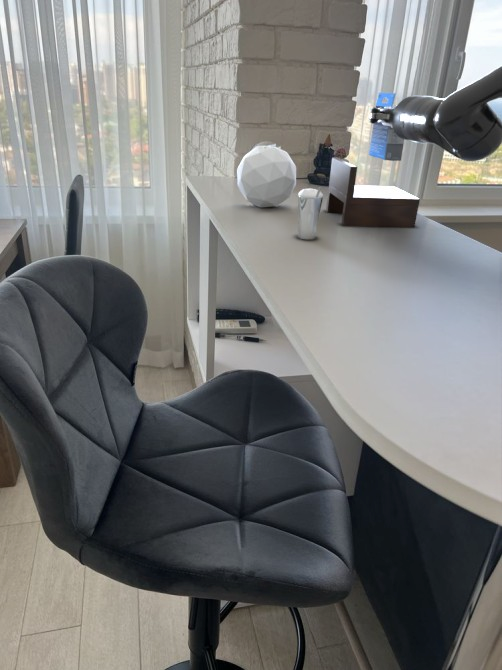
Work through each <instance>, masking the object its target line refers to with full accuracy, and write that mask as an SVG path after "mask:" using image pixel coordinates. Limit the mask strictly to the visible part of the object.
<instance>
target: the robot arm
mask: <svg viewBox="0 0 502 670" xmlns="http://www.w3.org/2000/svg"><path fill="white" fill-rule="evenodd" d="M497 99H502V65H500V66H499V67H497V68H495V69H494V70H492V71H490V72H489V73H487V74H485V75H484V76H482V77H480V78H478V79H477V80H474V81H472V82H471V83H469V84H467V85H465V86H463V87H461V88H460V89H457V90H456V91H454V92H453V93H451V94H449V95H448V96H447V97H445V98H439V97H436V96H431V95H410V96H407V97H405V98H403V99H402V100H400V101H399V102H398V104H397V105H393V107H392V106H385V108H384V109H383V108H378V109H377V108H376V106H375V107H371V108H370V112H369V113H370V114H369V119H368V122H369V123H371V124H372V125H373V124H374V123H381V122H382V124H383V125H386V126H391V128H393V130H394V132H395V133H396V134H397V135H398V136H399V137H400V138H402V139H404V141H410V142H414V143H417V144H430V145H434V146H438V147H439V148H441V149H442V150H443V151H445V152H447V153H449V154H450V155H452V156H454V157H455V158H457V159H459V160H462V161H465V162H478V161H481V160H484V159H486V158H488V157H490V156H491V155H493V154H494V153H495V152H496V151H497V150H498V149H499V148H500V147H501V145H502V119H501V118H500V117H499V115H497V113H496V112H495V111H494V110H493V108H492V107H491V106H490V105H489V104H488V103H489V102H492V101H495V100H497Z"/></svg>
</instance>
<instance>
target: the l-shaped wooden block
mask: <svg viewBox="0 0 502 670" xmlns="http://www.w3.org/2000/svg"><path fill="white" fill-rule="evenodd" d="M357 172H358V166H356V165H354V164H352V163H350V162H348V161H346V160H344V159H342V158H340V157H332V158H331V164H330V173H329V181H328V190H327V198H326V199H327V200H326V206H325V212H327V213H342V216H341V223H340V224H341V226H342V227H383V228H384V227H387V228H388V227H389V228H390V227H391V228H415V226H416V221H417V217H418V211H419V206H420V201H421V198H418V197H416V196H415V195H412V194H410V193H408V192H406V191H405V190H402V189H400V188H398V187H396V186H384V185H383V186H382V185H356V181H357V180H356V179H357Z"/></svg>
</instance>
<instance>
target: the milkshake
mask: <svg viewBox="0 0 502 670" xmlns="http://www.w3.org/2000/svg"><path fill="white" fill-rule="evenodd" d="M321 190H322V187H321V186H320V187H319V186H318V189H315V188H312V187H311V188H310V187H309V188H302V189H301V190H300V191H298V194H297V195H298V227H297V238H299V239H301V240H306V241H307V240H309V241H311V240H315V238H316V236H317V235H316V234H317V229H318V223H319V217H320V213H321V208H322V204H323V199H324V194H323V192H321Z"/></svg>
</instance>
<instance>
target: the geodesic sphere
mask: <svg viewBox="0 0 502 670" xmlns="http://www.w3.org/2000/svg"><path fill="white" fill-rule="evenodd" d="M276 145H277V144H276V143H274V144H273V143H272V144H269V145H257V146H255V147H254V148H252V149H251V150H250V151H249V152H247V153H246V154H245V155H244V156H243V157H242V159H241V161H240V163H239V165H238V167H237V169H236V178H237V181H236V182H237V188H238V190H239V191H240V192H241V194H242V196H243V197H244V198H245V200H246V202H249V203H251V204H252V205H254V206H256V207H257V208H270V207H277V206H279V205H280V204H281V203H283V202H285V201H286V200H288V199H290V197H291V195H292V194H293V191H294V189H295V187H296V186H297V166H296V164H295V163H294V160H292V157H291V156H290V154H289V153H288V152H287V151H286V150H284V149H282V147H281V146H282V145H280V146H278V147H277V146H276Z"/></svg>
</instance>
